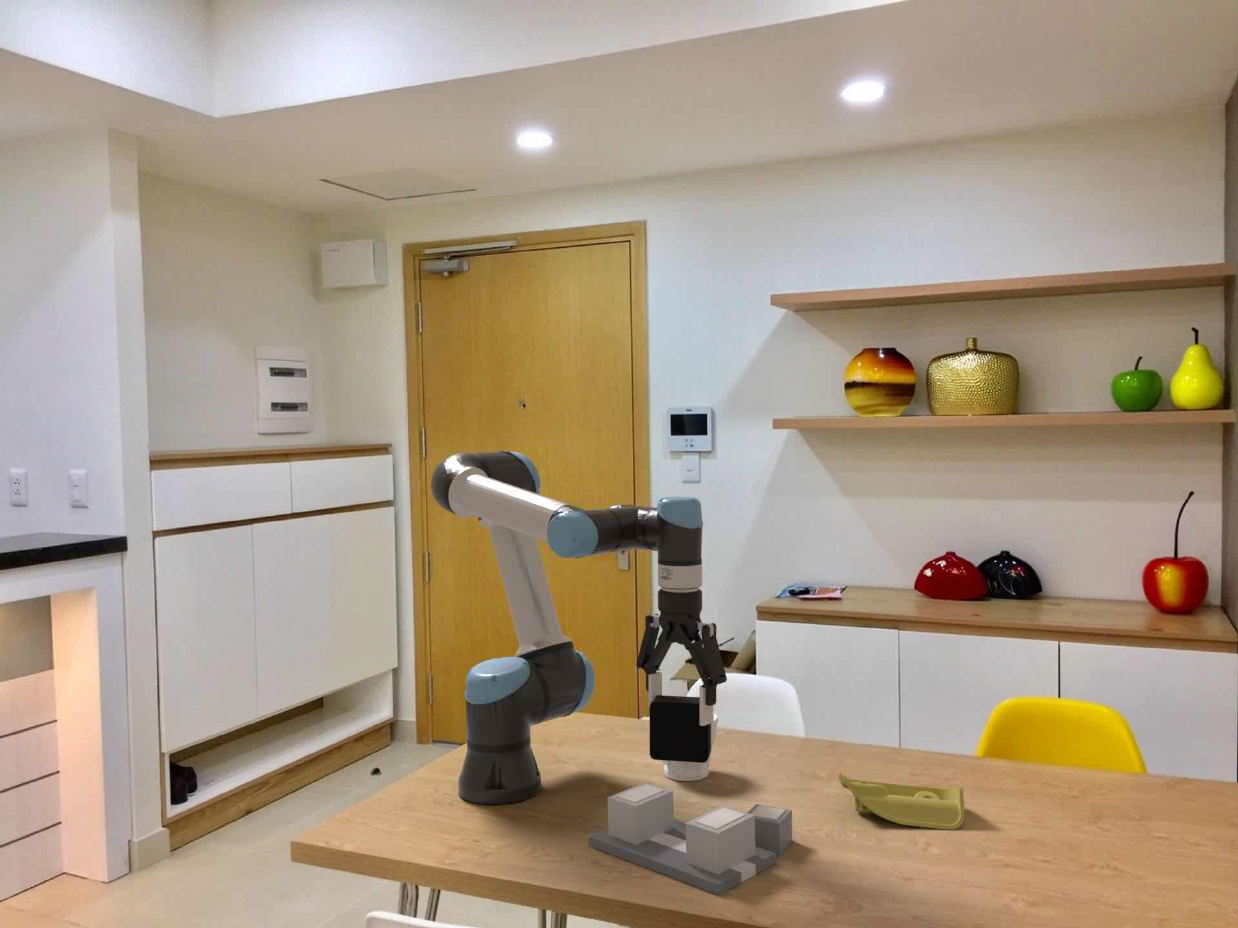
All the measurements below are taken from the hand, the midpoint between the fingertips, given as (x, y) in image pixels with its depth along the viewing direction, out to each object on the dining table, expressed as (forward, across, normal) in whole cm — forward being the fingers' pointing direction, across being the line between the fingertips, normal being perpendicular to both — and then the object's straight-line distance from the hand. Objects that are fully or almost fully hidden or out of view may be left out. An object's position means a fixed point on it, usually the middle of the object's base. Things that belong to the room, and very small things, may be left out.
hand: (680, 716), depth 172 cm
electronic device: (+7, 0, 0) cm, 7 cm away
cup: (+17, -12, +16) cm, 26 cm away
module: (+16, +19, -1) cm, 25 cm away
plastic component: (+17, +28, +24) cm, 41 cm away
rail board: (+16, +11, -13) cm, 24 cm away
